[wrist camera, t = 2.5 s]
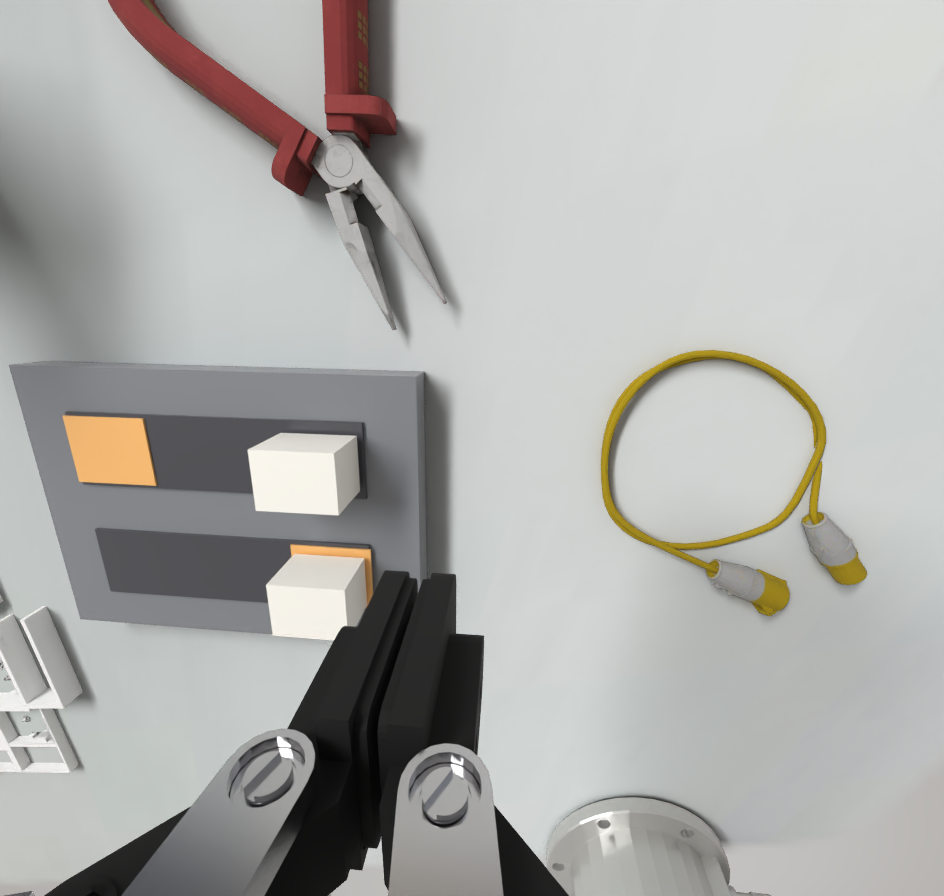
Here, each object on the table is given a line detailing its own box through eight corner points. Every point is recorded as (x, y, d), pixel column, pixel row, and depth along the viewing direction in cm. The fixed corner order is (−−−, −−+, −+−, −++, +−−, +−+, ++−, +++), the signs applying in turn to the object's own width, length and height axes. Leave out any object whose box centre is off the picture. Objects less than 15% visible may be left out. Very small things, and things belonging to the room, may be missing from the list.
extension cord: (638, 625, 28) (647, 648, 26) (570, 385, 24) (575, 391, 22) (851, 579, 26) (879, 601, 24) (815, 307, 22) (844, 306, 20)
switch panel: (423, 371, 24) (414, 377, 22) (427, 623, 28) (420, 649, 26) (46, 361, 26) (2, 365, 23) (107, 599, 30) (76, 622, 28)
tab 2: (364, 558, 24) (344, 590, 22) (367, 604, 25) (348, 641, 23) (294, 553, 25) (265, 584, 22) (299, 599, 26) (272, 635, 23)
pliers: (330, 366, 25) (309, 373, 22) (91, -59, 20) (29, -115, 17) (529, 262, 22) (531, 254, 20) (310, -249, 18) (275, -347, 15)
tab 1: (356, 435, 22) (333, 453, 20) (360, 490, 23) (338, 515, 20) (280, 432, 23) (247, 449, 20) (287, 487, 24) (255, 510, 21)
